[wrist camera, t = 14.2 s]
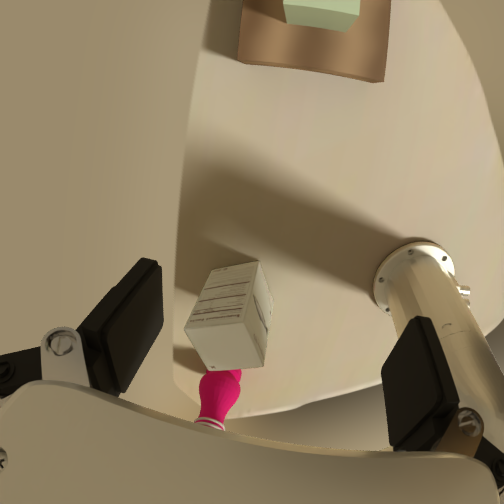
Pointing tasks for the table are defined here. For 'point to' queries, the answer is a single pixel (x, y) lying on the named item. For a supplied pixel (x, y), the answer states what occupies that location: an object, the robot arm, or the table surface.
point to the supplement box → (232, 318)
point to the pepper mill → (217, 396)
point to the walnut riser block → (316, 41)
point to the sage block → (322, 13)
